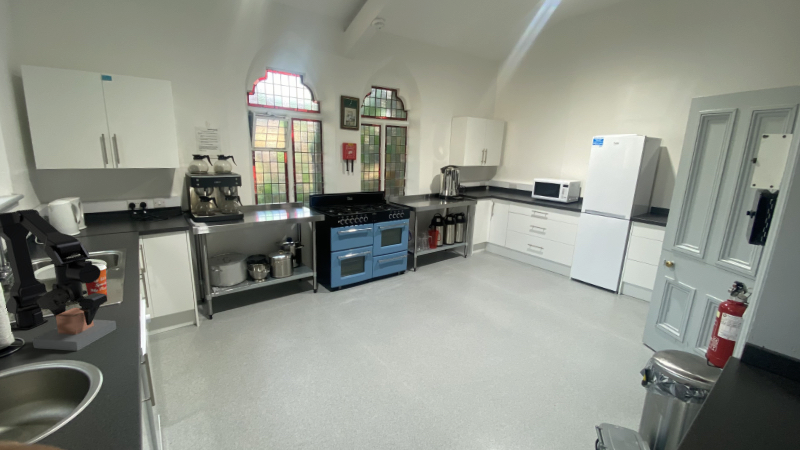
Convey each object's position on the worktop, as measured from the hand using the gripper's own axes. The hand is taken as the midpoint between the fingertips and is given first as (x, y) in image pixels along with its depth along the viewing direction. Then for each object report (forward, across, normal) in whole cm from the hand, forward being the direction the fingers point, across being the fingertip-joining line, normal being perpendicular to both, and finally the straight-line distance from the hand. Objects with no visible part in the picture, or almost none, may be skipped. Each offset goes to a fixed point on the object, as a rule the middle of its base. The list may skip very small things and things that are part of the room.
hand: (75, 323), depth 112 cm
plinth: (+5, 0, 0) cm, 5 cm away
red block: (+2, 0, 0) cm, 2 cm away
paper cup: (+5, -21, +30) cm, 37 cm away
